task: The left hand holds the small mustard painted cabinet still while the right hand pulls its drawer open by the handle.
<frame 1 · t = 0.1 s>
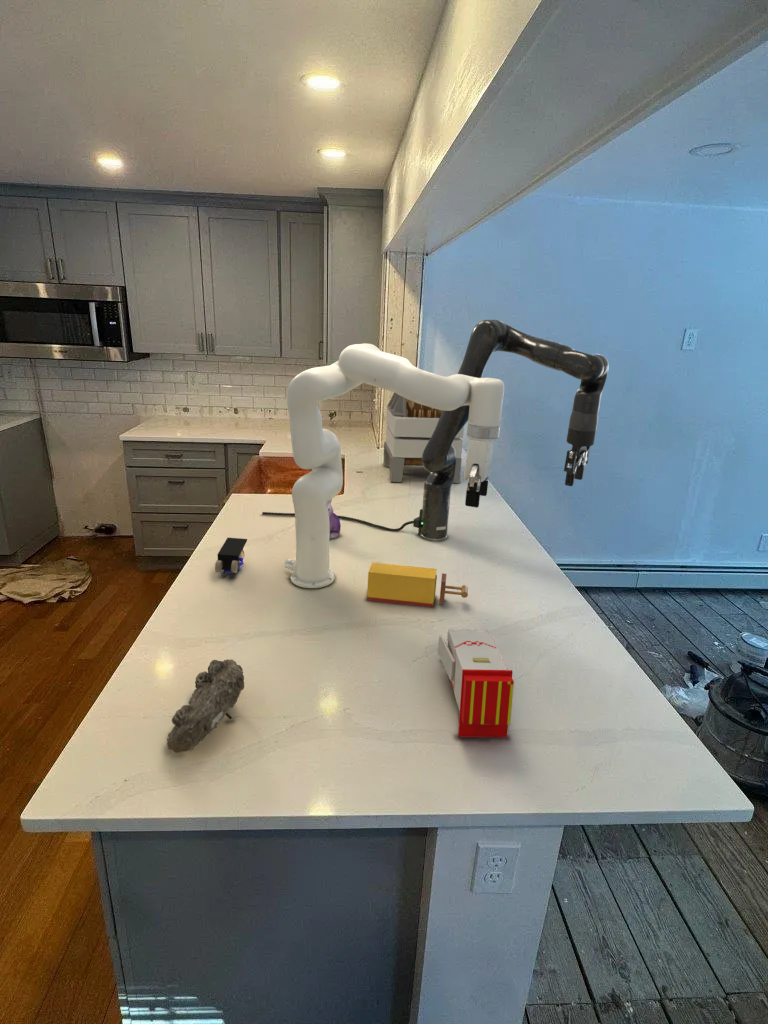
left hand: (476, 500, 139), 31 cm above the counter, tool pointing down, fingers open, 9 cm apart
right hand: (573, 482, 165), 29 cm above the counter, tool pointing down, fingers open, 8 cm apart
figurine: (328, 535, 196), on the counter
toy: (469, 691, 119), on the counter
drawer: (425, 586, 153), point 4 cm above the counter, slide at 1.6 cm
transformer: (419, 473, 275), on the counter
cabinet: (401, 598, 156), on the counter
figurine character: (232, 569, 168), on the counter
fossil: (212, 717, 108), on the counter
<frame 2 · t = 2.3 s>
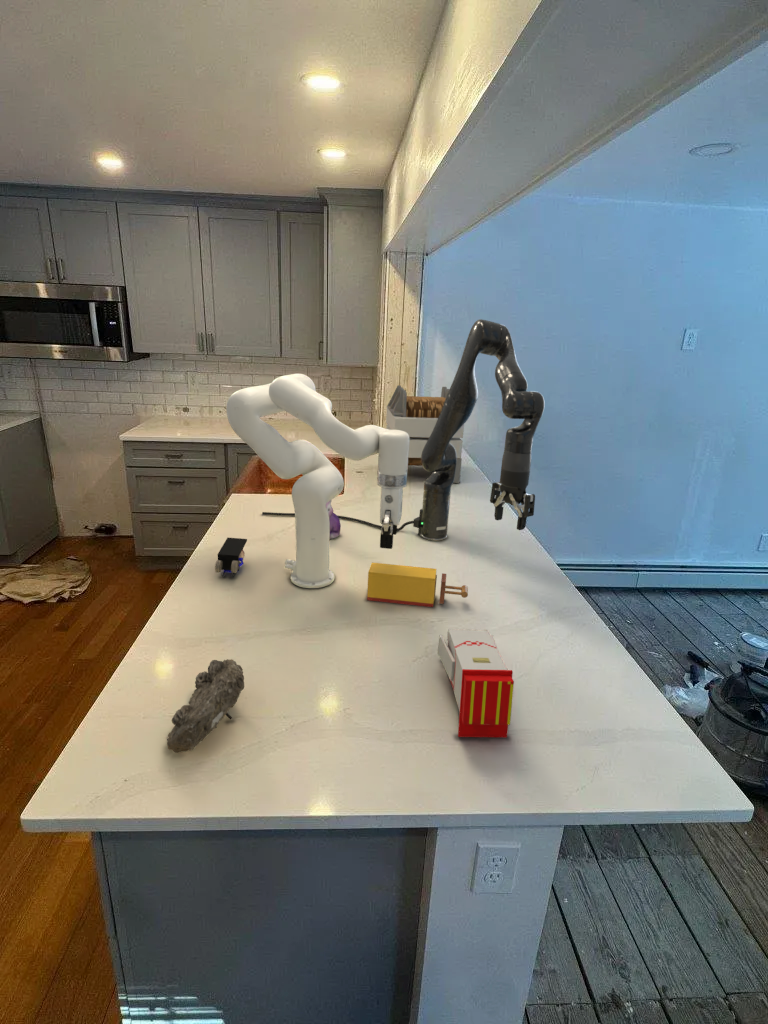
left hand: (388, 540, 150), 17 cm above the counter, tool pointing down, fingers open, 9 cm apart
right hand: (509, 524, 156), 20 cm above the counter, tool pointing down, fingers open, 8 cm apart
nothing on the counter moved.
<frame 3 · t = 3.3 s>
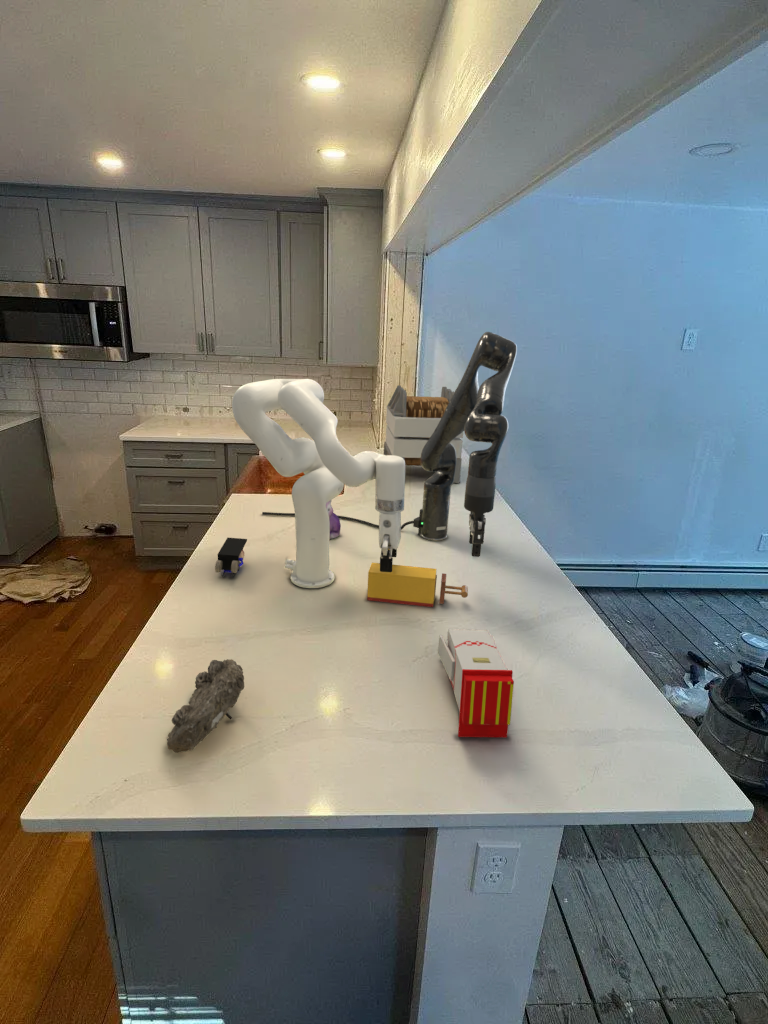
left hand: (388, 563, 153), 10 cm above the counter, tool pointing down, fingers open, 9 cm apart
right hand: (474, 549, 151), 15 cm above the counter, tool pointing down, fingers open, 8 cm apart
nothing on the counter moved.
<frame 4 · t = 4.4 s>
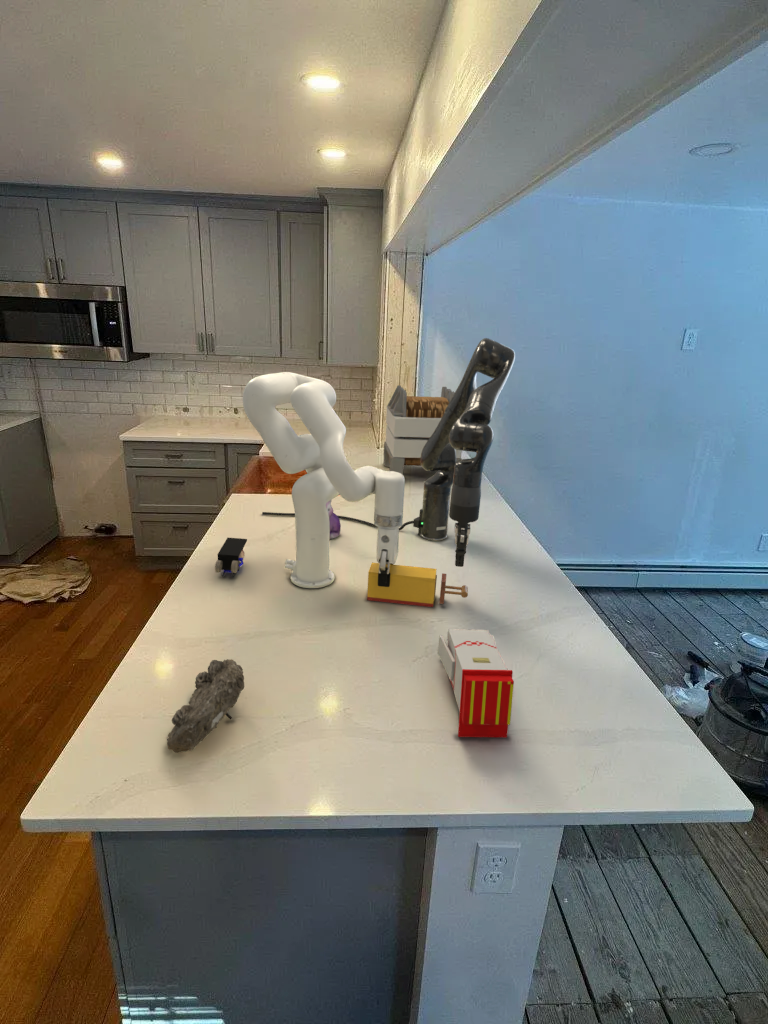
left hand: (385, 579, 154), 5 cm above the counter, tool pointing down, fingers closed on cabinet, 6 cm apart
right hand: (459, 561, 150), 13 cm above the counter, tool pointing down, fingers open, 4 cm apart
cabinet: (401, 598, 156), on the counter, touching left hand
everything else where it was.
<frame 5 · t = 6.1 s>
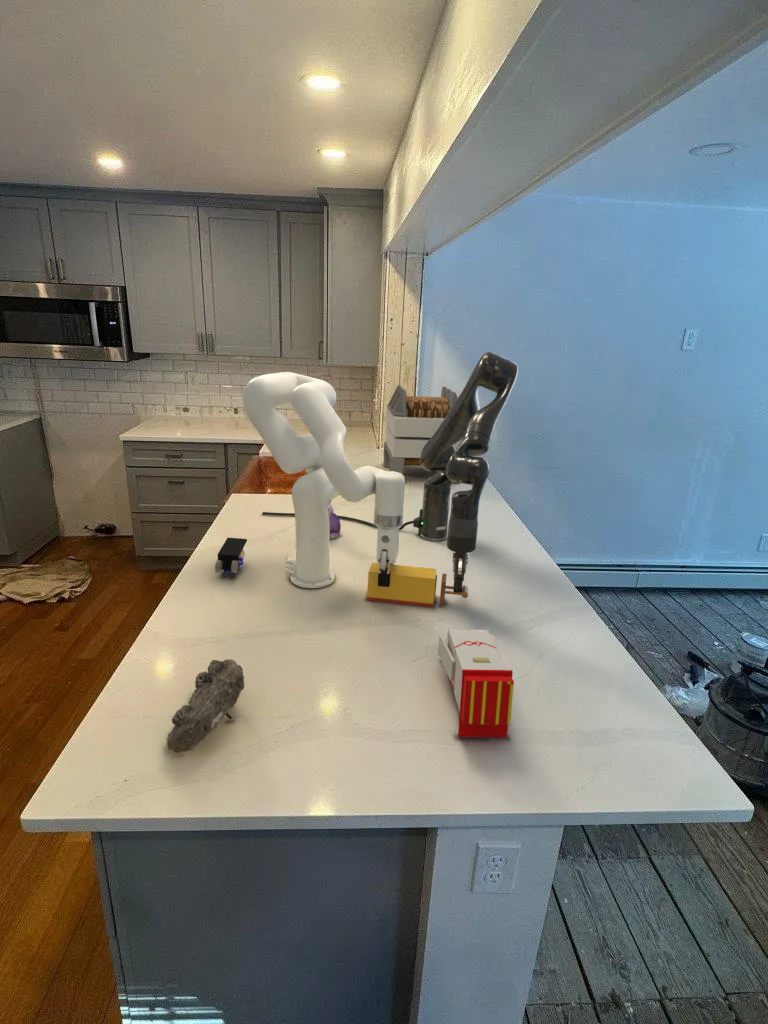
left hand: (385, 579, 154), 5 cm above the counter, tool pointing down, fingers closed on cabinet, 6 cm apart
right hand: (457, 591, 152), 4 cm above the counter, tool pointing down, fingers closed
drawer: (425, 586, 153), point 4 cm above the counter, slide at 1.6 cm, touching right hand
cabinet: (401, 598, 156), on the counter, touching left hand
everything else where it was.
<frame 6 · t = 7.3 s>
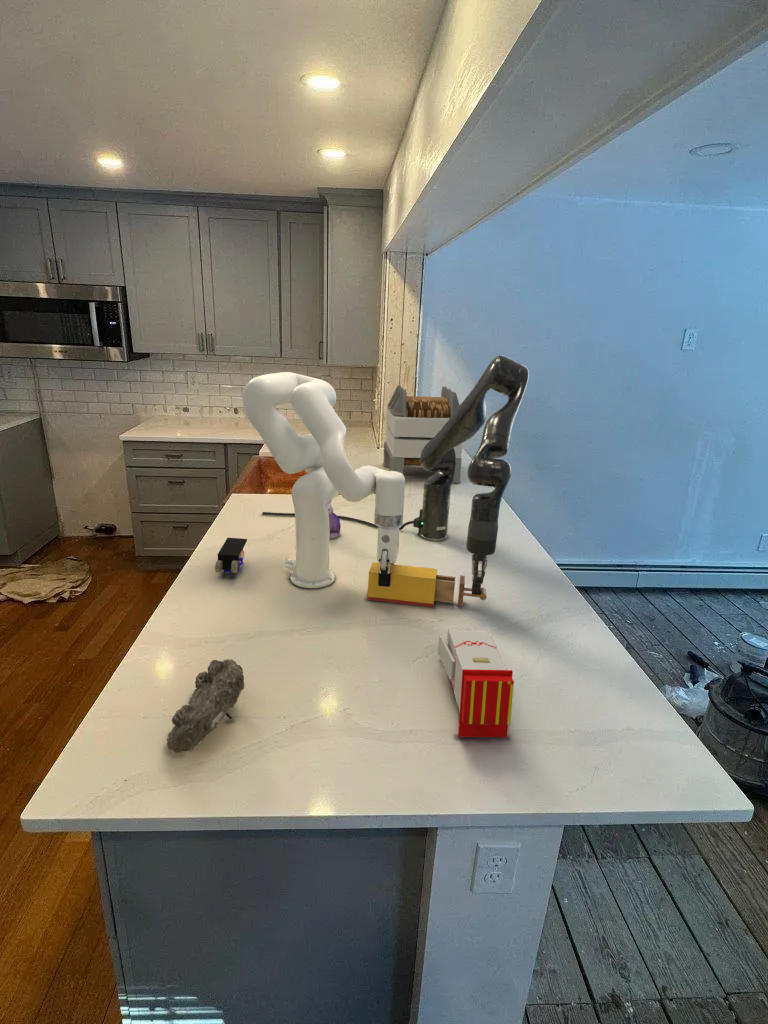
left hand: (385, 579, 154), 5 cm above the counter, tool pointing down, fingers closed on cabinet, 6 cm apart
right hand: (475, 593, 152), 4 cm above the counter, tool pointing down, fingers closed
drawer: (443, 588, 153), point 4 cm above the counter, slide at 6.4 cm, touching right hand
cabinet: (401, 598, 156), on the counter, touching left hand
everything else where it was.
when the left hand's fingers open (5 cm above the counter, at t = 8.7 s): cabinet stays where it is, on the counter.
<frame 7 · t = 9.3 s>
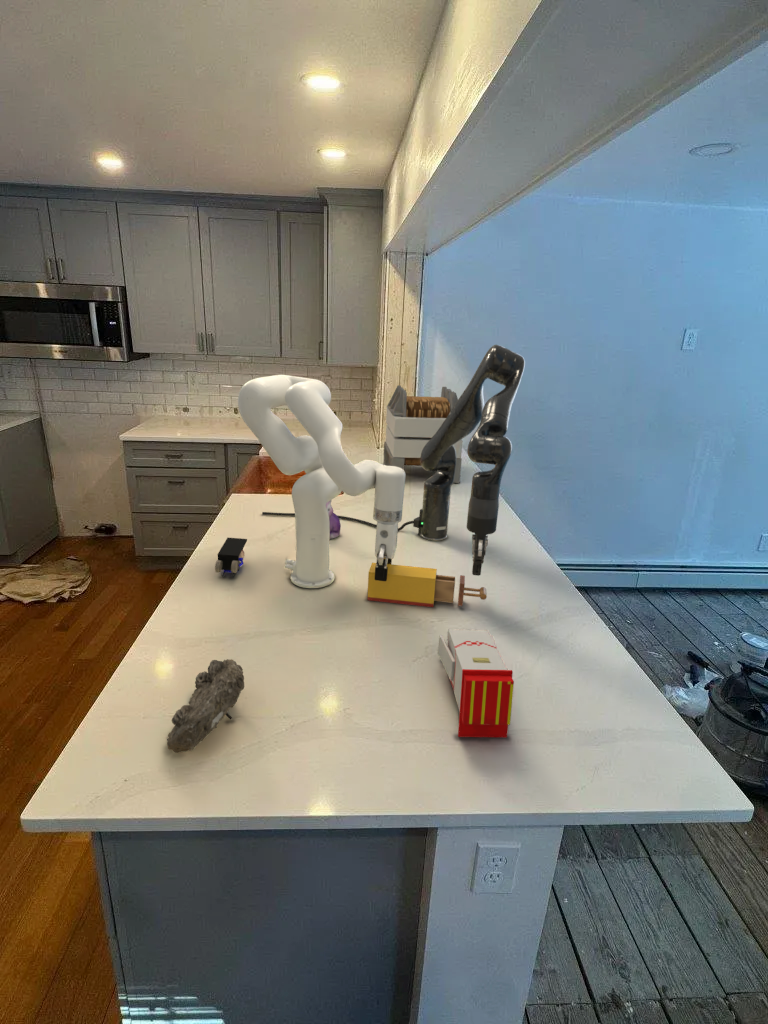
left hand: (383, 572, 154), 7 cm above the counter, tool pointing down, fingers open, 9 cm apart
right hand: (476, 574, 150), 9 cm above the counter, tool pointing down, fingers closed
drawer: (443, 588, 153), point 4 cm above the counter, slide at 6.5 cm
cabinet: (401, 598, 156), on the counter
everything else where it was.
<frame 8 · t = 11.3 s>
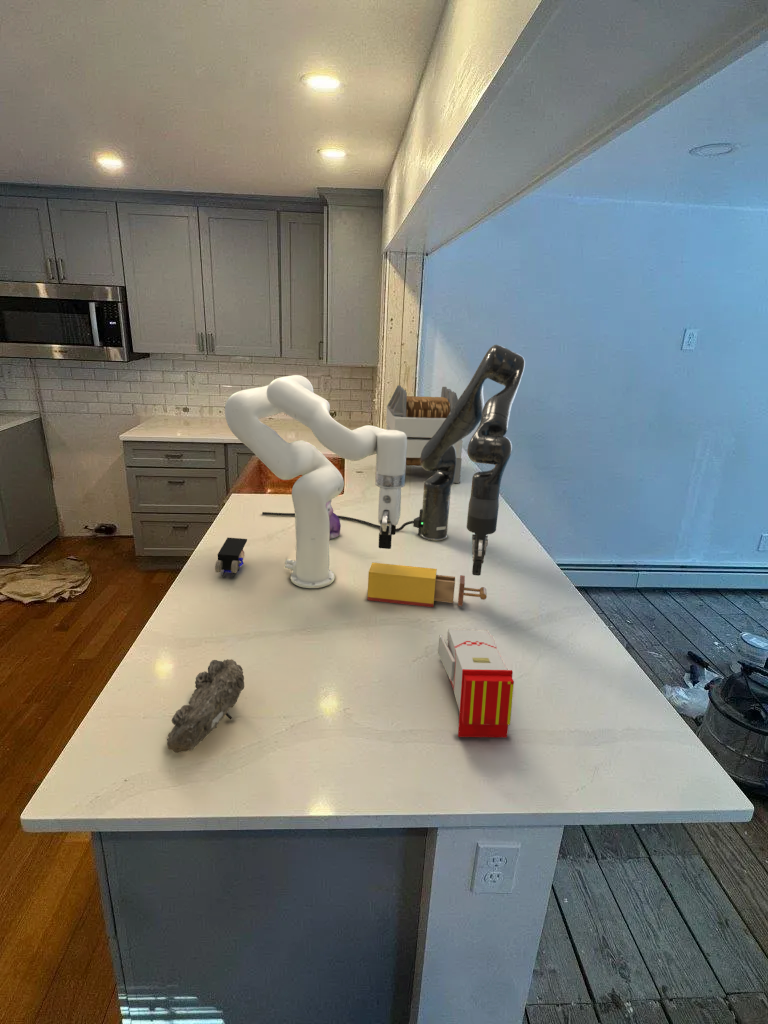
left hand: (387, 540, 151), 17 cm above the counter, tool pointing down, fingers open, 9 cm apart
right hand: (476, 574, 150), 9 cm above the counter, tool pointing down, fingers closed
nothing on the counter moved.
at the end: drawer slide at 6.5 cm; cabinet tilted 0°; cabinet never tilted more than 1° during the clip; cabinet moved 0.1 cm from its start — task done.
